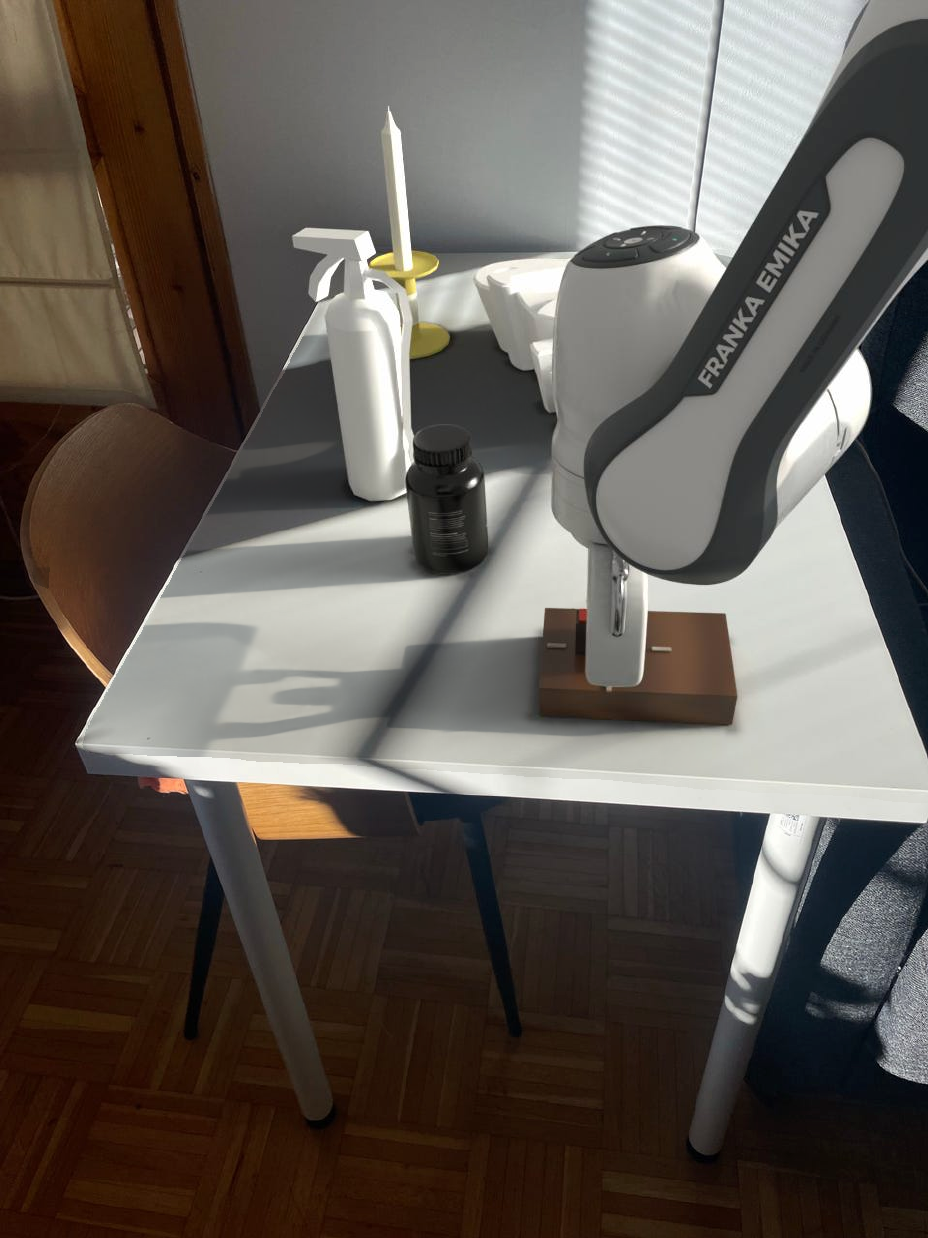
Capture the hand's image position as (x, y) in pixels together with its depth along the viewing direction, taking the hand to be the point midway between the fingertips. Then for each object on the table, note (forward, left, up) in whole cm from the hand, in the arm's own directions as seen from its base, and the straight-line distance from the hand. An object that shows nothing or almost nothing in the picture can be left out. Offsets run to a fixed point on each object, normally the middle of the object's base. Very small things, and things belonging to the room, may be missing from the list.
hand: (609, 642), depth 71 cm
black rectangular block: (0, 0, -1) cm, 1 cm away
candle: (+60, -23, -4) cm, 64 cm away
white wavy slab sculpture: (+39, -31, -4) cm, 50 cm away
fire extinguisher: (+34, -2, -4) cm, 34 cm away
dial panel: (-1, -1, -4) cm, 4 cm away
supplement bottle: (+21, 0, -4) cm, 21 cm away
